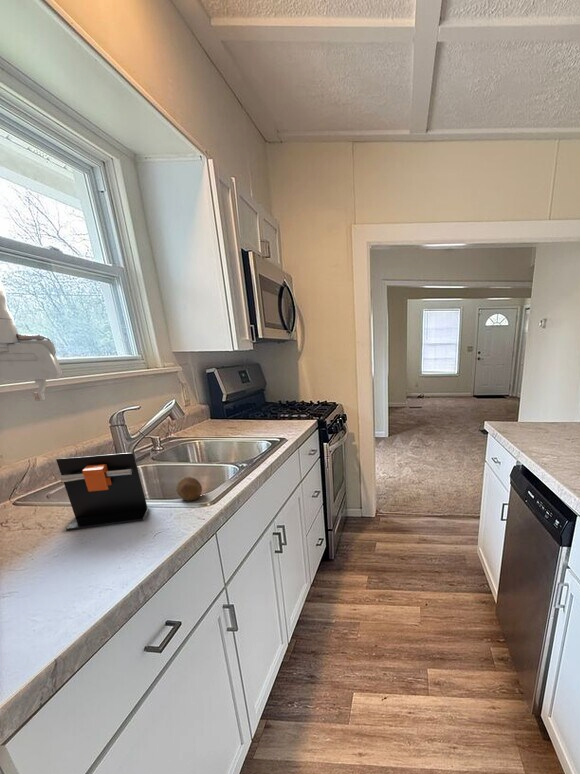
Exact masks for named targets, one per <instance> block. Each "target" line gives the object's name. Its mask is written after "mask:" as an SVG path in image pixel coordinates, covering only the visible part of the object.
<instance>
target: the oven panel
mask: <svg viewBox="0 0 580 774" xmlns="http://www.w3.org/2000/svg"><path fill="white" fill-rule="evenodd" d="M55 460H56V463H57V464H56V465H57V466H58V470H59V472H60V475H59V479H60V480H59V481H60V482H61V483H63V484H64V487H65V491H66V494H67V497H68V500H69V503H70V507H71V509H72V512H73V515H74V519H73V520H72V521H71V522H70V523H69V524H68V526H67V527H66V528H65V530H66V532H68V531H69V532H71V531H77V530H84V529H93V528H100V527H101V528H102V527H106V526H107V527H108V526H115V525H122V524H123V525H124V524H130V523H137V522H143V521H145V518H146V516H147V514H148V512H149V507H148V504H147V499H146V495H145V492H144V488H143V485H142V480H141V476H140V472H139V468H138V465H137V461H136V456H135V452H121V453H110V454H99V455H87V456H74V457H60V458H56V459H55ZM102 464H106V465H107V468H108V471H105V472H104V475H105V478H110V479H111V482H112V485H108V488H109V489H108V490H100V491H91V492H89V491H88V488H87V485H86V482H85V479H84V475H83V472H82V470H83V469H84V468H85V467H86V466H90V465H102Z"/></svg>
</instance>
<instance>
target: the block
mask: <svg viewBox="0 0 580 774" xmlns="http://www.w3.org/2000/svg"><path fill="white" fill-rule="evenodd" d="M105 471H108V468H107V465H106V464H102V465H90V466H86V467H85V468H84V469H83V470H82V472H83V475H84V479H85V482H86V485H87V488H88V491H89V492H91V491H100V490H108V489H109V488H108V485H112V482H111V479H110V478H105V475H104V472H105Z"/></svg>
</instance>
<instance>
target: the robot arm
mask: <svg viewBox="0 0 580 774" xmlns="http://www.w3.org/2000/svg"><path fill="white" fill-rule="evenodd" d="M56 352H57V351H56V347H55V344H54V342H53V341H52V339H50V338H49V337H47V336H44V335H43V334H19V332H18V328H17V325H16V323H15V320H14V317H13V315H12V313H11V312H10V311H9V308H8V304H7V295H6V292H5V289H4V286H3V284H2V281H1V280H0V381H33V380H34V383H35V385H36V386H38V388H37V391H35V392H33V393H32V395H33V397H34V401H36V402H42V401H46V395H45V390H46V388H47V385H48V383H47V380H59V379H61V378H62V376H63V369H62V367H61V365H60V362H59V359H58V358H57V356H56V354H57V353H56Z"/></svg>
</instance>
